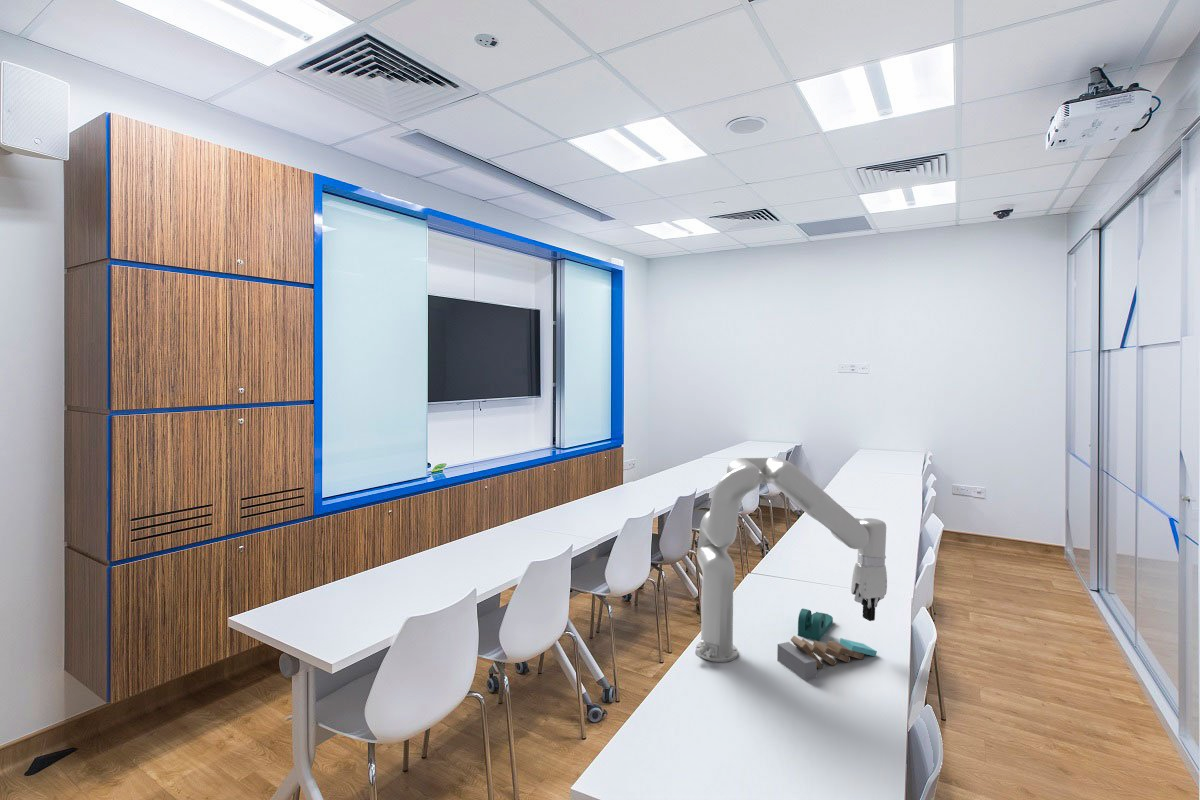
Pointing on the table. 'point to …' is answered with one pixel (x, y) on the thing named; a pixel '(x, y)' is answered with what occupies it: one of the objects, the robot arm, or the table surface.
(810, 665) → the block
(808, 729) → the table surface
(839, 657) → the domino
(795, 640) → the domino
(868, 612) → the robot arm
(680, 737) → the table surface
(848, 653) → the domino
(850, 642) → the teal domino
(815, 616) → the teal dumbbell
